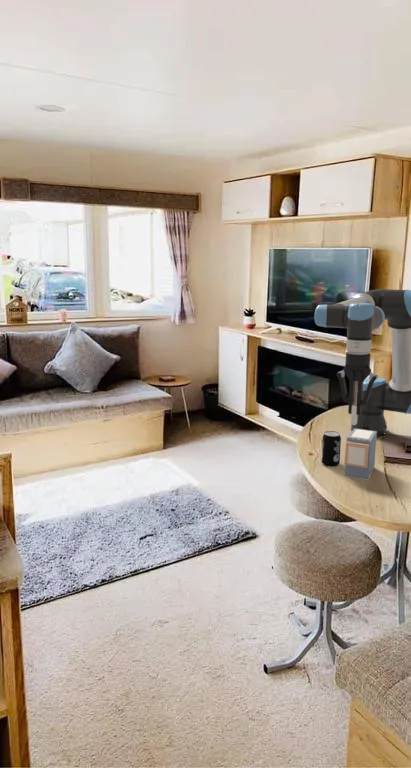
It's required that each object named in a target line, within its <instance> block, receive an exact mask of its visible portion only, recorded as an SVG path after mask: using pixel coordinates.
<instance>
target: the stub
mask: <svg viewBox="0 0 411 768" xmlns="http://www.w3.org/2000/svg"><path fill="white" fill-rule="evenodd" d="M344 451H345V455H344V465H345V464H346V465H352V466H358V467H364V468H367V466H368V453H369V445H368V444H361V443H354V442H348V441H347V440H346V442H345V450H344Z"/></svg>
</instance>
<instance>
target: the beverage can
mask: <svg viewBox="0 0 411 768" xmlns="http://www.w3.org/2000/svg"><path fill="white" fill-rule="evenodd" d="M321 443H322V445H321V463H322V465H324V466H326V467H329V466H330V468H331V467H332V468H334V467H337V466H339V464H340V462H341V461H340V460H341V443H342V437H341V433H340V432H339V431H335V430H327V431H324V432H323V436H322V441H321ZM333 466H334V467H333Z"/></svg>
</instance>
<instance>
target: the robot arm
mask: <svg viewBox="0 0 411 768" xmlns="http://www.w3.org/2000/svg"><path fill="white" fill-rule="evenodd" d="M313 317H314V323H315V325H316V326H318V327H323V328H337V329H338V328H339V329H347V330H346V331H347V332H346V346H345V347H346V348H345V350H346V353H345V364H344V367H343V370H340V371H338V372H337V373H336V378H337V379H338V380H339V385H340V391H341V398H342V402H344V403H345V404H348V412H347V413H348V415H350V416H351V417H350V430H351V432H352V431H353V429H354V428H355V429H363V430H370V431H377V436H383V435H382V434H384V433H386V434H387V430H388V429H387V428H388V426H387V422H386V418H385V414H384V413H385V411H387V412H395V413H402V414H406V415H407V414H409V415H411V289H385V288H379V289H377V288H376V289H372V290H368V291H364V292H361V293H357V294H356V295H355V296H353V297H352V298H351V299H347V300H344V301H341V302H337V303H334V304H327V303H326V304H318V305H317V306H316V308H315V311H314V316H313ZM385 321H386V322H387V324H386V325H387V326H388V328H390V329H391V358H392V359H391V360H392V361H391V362H392V363H391V364H392V365H391V366H392V368H391V369H392V371H391V372H392V378H391V379H390V380H389V382H388V383H387V380H386V378H382V377H379V375H377V374H374V373H373V372H372V369H371V353H370V352H371V351H372V339H373V338H372V335H373V331H374V330H376V329H378V328H380V327H381V326H382V325H383V323H384V322H385ZM345 376H346V377H347V379H348V380H349V382H348V383H349V388H348V389H349V390H347V385H346V380H345V379H346V378H345ZM368 376H369V377H368ZM356 382H357V390H355V389H356ZM355 391H356V392H357V393H356V403H355ZM384 435H385V434H384Z"/></svg>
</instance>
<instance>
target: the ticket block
mask: <svg viewBox="0 0 411 768" xmlns="http://www.w3.org/2000/svg"><path fill="white" fill-rule="evenodd" d="M347 441H348V442H354V443H361V444H368V445H369V453H368V466H367V468H364V467H358V466H352V465H346V464H345V463H344V476H345V477H350V478H355V479H361V480H367V481H368V480H369V479H370V476H371V474H372V473H373V471H374V469H375V464H376V463H375V462H376V449H377V431H370V430H363V429H355V428H354V429H353V431H352V430H351V432H350V433H349V434H348V436H347V437H346V442H347Z"/></svg>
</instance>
